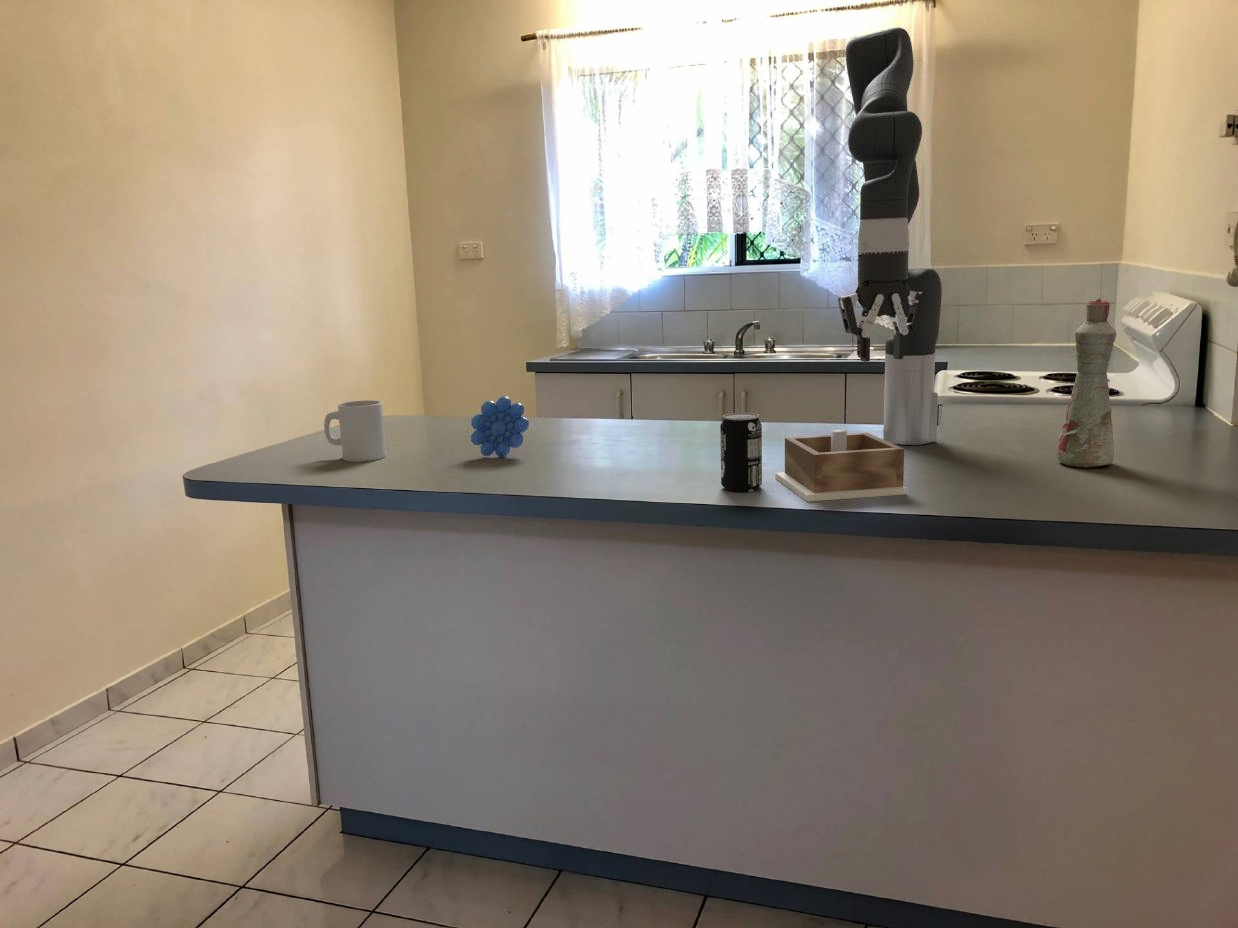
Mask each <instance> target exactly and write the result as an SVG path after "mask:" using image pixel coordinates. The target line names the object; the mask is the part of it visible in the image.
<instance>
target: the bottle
mask: <svg viewBox="0 0 1238 928" xmlns="http://www.w3.org/2000/svg"><path fill="white" fill-rule="evenodd" d="M1085 305H1086V316H1085V317H1086V320H1085V321H1084V323H1083V324H1081V325H1080V326H1079V327H1078V328H1077V329H1076V330H1075V332H1074V338H1075V350H1076V354H1075V355H1076V369H1077V372H1076V375H1075V381H1074V383H1073V387H1072V390H1071V391H1072V392H1071V395H1070V398H1069V399H1070V400H1069V402H1068V406H1067V410H1066V413H1065V418H1064V421H1063V424H1062V427H1061V433H1060V434H1059V437H1058V447H1057V450H1056V458H1057V460H1058V462H1059V463H1060V464H1063V465H1065V466H1068V467H1069V466H1071V467H1075V468H1095V467H1101V466H1108V465H1111V464H1112V463H1113V462H1114V459H1115V446H1114V445H1115V443H1114V430H1113V421H1112V412H1113V411H1112V410H1113V409H1112V406H1111V402H1110V392H1109V381H1108V380H1109V379H1108V373H1107V372H1108V369H1109V365H1110V364H1109V363H1110V361H1111V358H1112V352H1113V348H1114V343H1115V341H1116V337H1117V330H1116V329H1115V328H1114V327H1113V326H1112V325H1111V324H1110V322H1109V321H1108V318H1109V314H1110V308H1111V307H1110V306H1111V304H1110V302H1109V301H1108V300H1104V301H1103V300H1102V299H1101V298H1097V299H1096V300H1088V301H1087V303H1086V304H1085Z"/></svg>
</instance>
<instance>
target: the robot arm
mask: <svg viewBox="0 0 1238 928" xmlns="http://www.w3.org/2000/svg"><path fill="white" fill-rule="evenodd" d="M847 41H848V42H847V43H846V47H845V64H846V71H847V76H848V82H849V87H850V92H851V96H852V102H853V107H854V111H855V112H854V113H855V116H854V117H855V118H854V119H853V121H852V123H851V126H850V128H849V131H848V132H849V133H848V137H847V141H848V143H847V145H848V146H847V147H848V151H849V153H850V155H851V156H852V158H853V159H854V160H856V161H857V162H859V163H862V166H863V167H862V168H863V178H864V182H863V183H862V185H861V187H860V191H859V192H860V193H859V194H860V198H859V199H860V200H859V202H860V203H859V204H860V205H859V226H858V227H859V228H858V236H857V287H856V290H855V291H854V293H852V294H849V295H840V296H839V297H838V298H837V301H838V305H839V306H838V308H839V311H840V314H841V319H842V323H843V328H844V332H845V333H846V334H851V335H853V336H855V337H856V355H857V358H860V361H861V362H865V363H866V362H870V361H871V337H869V336H870V332H871V331H872V326H873V325H874V324H875V322H876V319H877V318H879V317H883V316H887V317H888V320H889V321H890V322H891V324H892V325H891V326H892V327H893V330H894V333H895V334H894V335H893V336H891V337H889V338H887V339H886V342H885V346H884V347H885V351H884V353H885V354H884V356H885V357H884V393H883V394H884V396H883V399H884V402H883V403H884V404H883V430H882V431H883V432H882V433H883V436H882V437H883V438H882V439H883V440H885V441H888V442H890V443H892V444H895V445H901V446H902V445H904V446H905V445H906V446H907V445H909V446H911V445H912V446H915V445H917V446H918V445H925V444H929V443H930V444H931V443H935V442H937V441H938V440H937V435H938V412H939V411H938V410H939V406H938V405H939V404H938V403H939V402H938V401H939V394H938V392H936V391H935V370H936V369H935V368H936V367H935V364H936V362H935V361H936V345H937V342H938V338H939V333H940V332H939V330H940V319H941V308H942V299H943V297H942V296H943V295H942V292H943V291H942V290H943V288H942V282H941V278H940V275H939V273H938V272H937V271H936V269H932V268H925V267H924V268H917V267H916V268H909V254H910V253H909V247H910V239H909V238H910V231H909V230H910V229H909V224H910V222H911V221H912V218H913V216H914V213H915V211H916V209H917V206H918V202H919V199H920V184H919V175H918V170H917V162H916V157H917V154H918V151H919V147H920V143H921V142H922V137H923V126H922V122H921V119H920V118H919V116H918V115H917V114H916V113H915V112H913V111H909V110H908V99H907V98H908V97H907V94H908V91H909V88H910V85H911V81H912V77H913V74H914V51H913V44H912V41H911V37H910V35H909V33H908V31H907V30H906V29H905V28H902V27H892V28H887V29H885V30H884V29H883V30H879V31H875V32H872V33H868V34H867V33H866V34H864V35H860V36H856V37H853V38H851V39H849V40H847ZM857 302H858V303H859V305H860V306H861V307H862V309H861V312H860V315H859V318H858V321H859V322H858V323H857V318H856V315H855V311H854V309H855V308H856V305H857Z"/></svg>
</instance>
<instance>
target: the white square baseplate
mask: <svg viewBox="0 0 1238 928" xmlns="http://www.w3.org/2000/svg"><path fill="white" fill-rule="evenodd" d="M847 434H848V431H847V430H845V429H833V430H831V431H830V435H831V452H838V451H846V446H847ZM774 476H775V477H774V478H775V480H777V481H778V482H780V483H781V484H782V485H784V486H785V487H786V488H788V489H789V490H790V491H792V492H793V493H794V494H796V495H797V496H799V497H800V498H801V499H803V500H804V501H806V502H819V501H835V500H847V499H859V498H873V497H875V498H876V497H887V496H900V495H901V496H903V495H907V494H908V487H906V486H904V485H903V487H892V488H878V489H864V490H850V491H836V492H823V493H813V492H812V491H810V490H809V489H807V488H806V487H804V486H803V485H801V484H800V483H799V482H797V481H796V480H794V479H793V478H791V477H790V476H788V475H787V474H785V471H783V472H782V471H781V472H775V473H774Z"/></svg>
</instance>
